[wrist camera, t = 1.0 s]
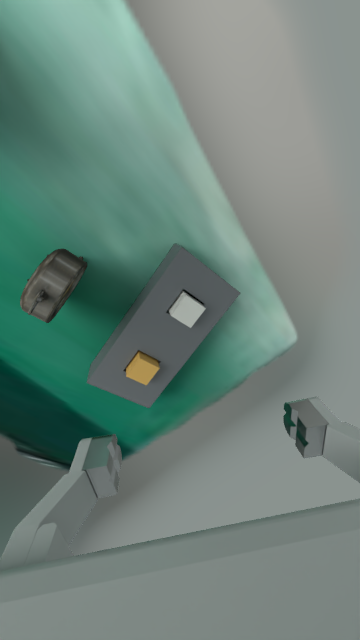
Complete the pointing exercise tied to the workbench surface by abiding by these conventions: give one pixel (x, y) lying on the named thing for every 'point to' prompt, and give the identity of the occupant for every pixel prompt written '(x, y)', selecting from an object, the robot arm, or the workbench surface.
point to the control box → (161, 327)
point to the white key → (186, 309)
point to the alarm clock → (52, 284)
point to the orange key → (142, 368)
